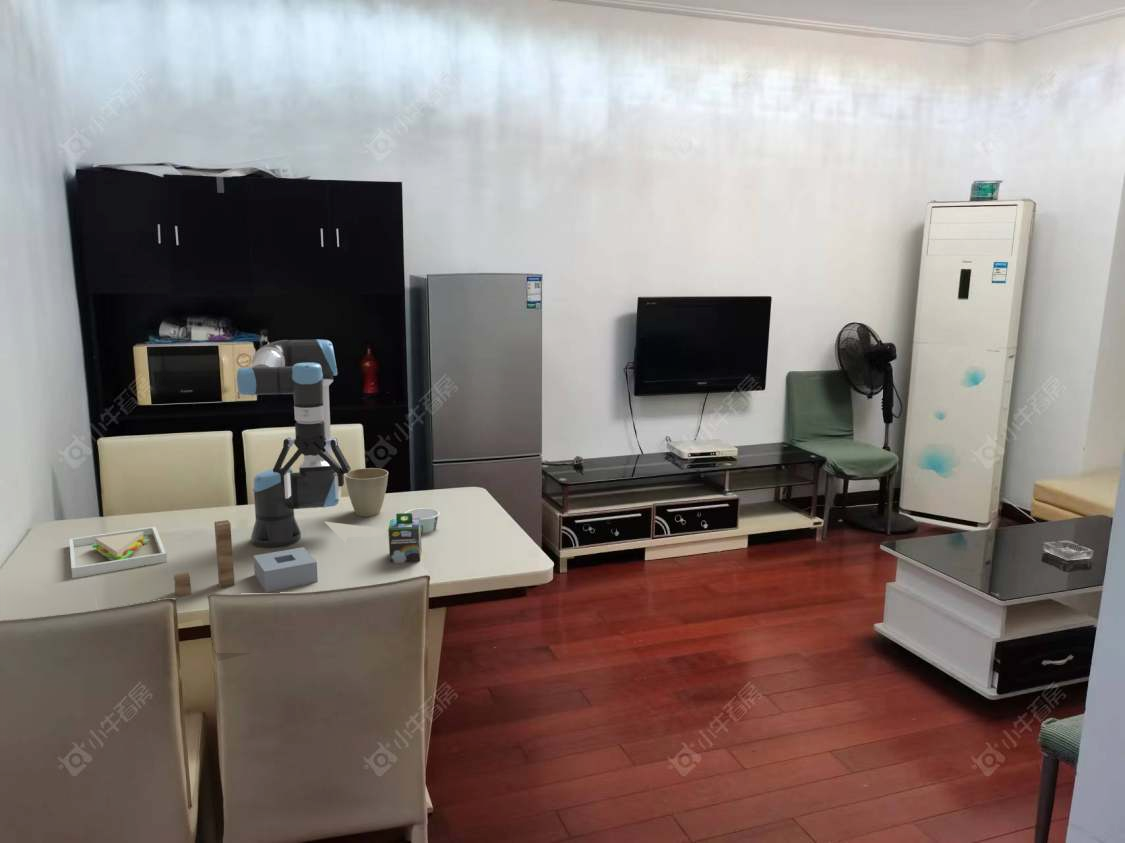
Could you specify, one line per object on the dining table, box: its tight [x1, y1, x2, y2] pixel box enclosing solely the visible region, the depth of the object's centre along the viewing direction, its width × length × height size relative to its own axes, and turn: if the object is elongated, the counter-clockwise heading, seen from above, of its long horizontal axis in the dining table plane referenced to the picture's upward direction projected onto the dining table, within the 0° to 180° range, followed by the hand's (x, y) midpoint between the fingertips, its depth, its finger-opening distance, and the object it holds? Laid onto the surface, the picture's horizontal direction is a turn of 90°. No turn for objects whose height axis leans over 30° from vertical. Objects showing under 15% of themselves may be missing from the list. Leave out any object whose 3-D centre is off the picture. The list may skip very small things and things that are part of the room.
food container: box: [403, 507, 441, 534], centre depth 265 cm, size 12×12×6 cm
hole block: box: [253, 546, 319, 593], centre depth 224 cm, size 14×14×6 cm
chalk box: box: [387, 512, 423, 564], centre depth 240 cm, size 9×9×15 cm
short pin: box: [173, 572, 192, 597], centre depth 213 cm, size 4×4×5 cm
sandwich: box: [91, 532, 149, 561], centre depth 240 cm, size 15×20×5 cm
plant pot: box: [344, 467, 389, 518], centre depth 280 cm, size 15×15×16 cm
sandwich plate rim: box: [68, 526, 168, 579], centre depth 241 cm, size 29×24×3 cm
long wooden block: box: [213, 519, 235, 589], centre depth 218 cm, size 4×4×18 cm
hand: (313, 497), depth 216 cm, fingers open, 13 cm apart
